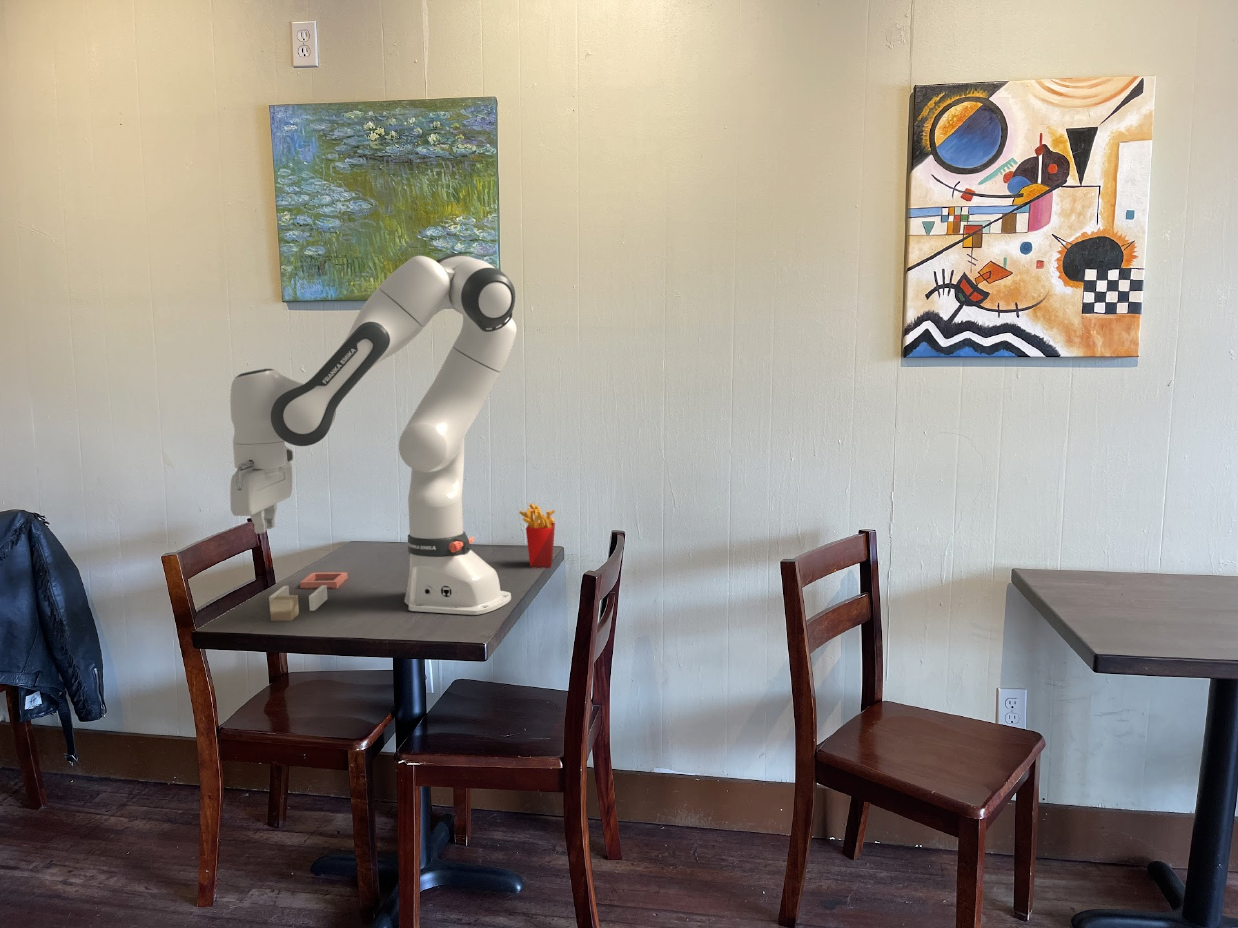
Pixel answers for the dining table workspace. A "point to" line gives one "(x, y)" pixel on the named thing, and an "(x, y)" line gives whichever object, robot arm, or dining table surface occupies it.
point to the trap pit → (323, 580)
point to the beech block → (284, 607)
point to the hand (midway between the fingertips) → (265, 530)
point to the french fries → (539, 536)
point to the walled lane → (314, 598)
